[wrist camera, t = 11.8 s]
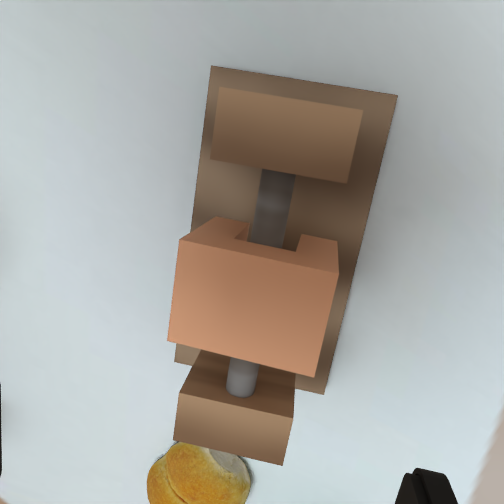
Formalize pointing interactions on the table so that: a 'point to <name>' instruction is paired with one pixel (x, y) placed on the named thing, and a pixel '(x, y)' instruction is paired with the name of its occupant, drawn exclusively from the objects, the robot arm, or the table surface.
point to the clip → (253, 296)
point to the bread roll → (198, 477)
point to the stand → (278, 231)
